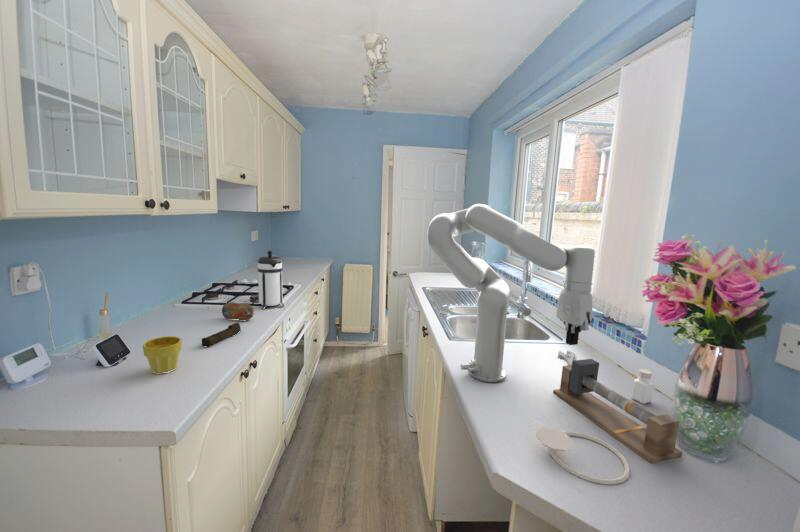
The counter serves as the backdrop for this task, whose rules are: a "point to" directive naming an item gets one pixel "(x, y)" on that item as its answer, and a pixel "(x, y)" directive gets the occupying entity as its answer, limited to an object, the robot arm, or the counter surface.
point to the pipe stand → (623, 419)
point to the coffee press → (270, 280)
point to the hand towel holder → (563, 442)
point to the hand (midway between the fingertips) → (571, 343)
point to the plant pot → (162, 353)
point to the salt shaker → (642, 387)
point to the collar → (582, 374)
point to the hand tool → (221, 335)
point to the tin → (237, 311)
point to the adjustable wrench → (567, 356)
